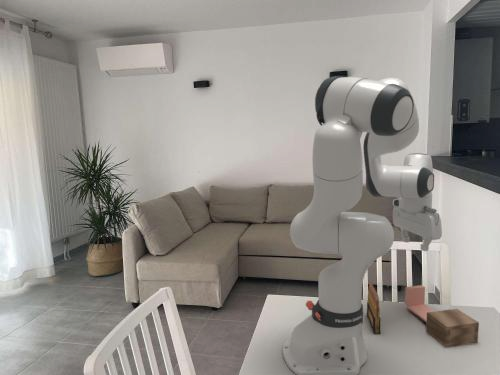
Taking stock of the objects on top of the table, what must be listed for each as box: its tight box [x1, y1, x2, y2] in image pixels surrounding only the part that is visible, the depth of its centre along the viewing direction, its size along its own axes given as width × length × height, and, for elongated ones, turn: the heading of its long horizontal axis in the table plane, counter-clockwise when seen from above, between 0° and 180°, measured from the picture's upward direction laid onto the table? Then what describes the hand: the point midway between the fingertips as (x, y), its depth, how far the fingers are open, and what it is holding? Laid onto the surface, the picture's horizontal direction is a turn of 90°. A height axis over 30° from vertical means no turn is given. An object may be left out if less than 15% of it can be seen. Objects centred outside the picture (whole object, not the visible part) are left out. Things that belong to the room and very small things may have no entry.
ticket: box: [404, 284, 436, 323], centre depth 109 cm, size 6×14×7 cm, turn 10°
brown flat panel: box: [366, 281, 382, 335], centre depth 107 cm, size 11×2×12 cm, turn 173°
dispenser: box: [425, 308, 480, 348], centre depth 99 cm, size 10×8×6 cm
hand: (414, 245), depth 113 cm, fingers open, 8 cm apart
